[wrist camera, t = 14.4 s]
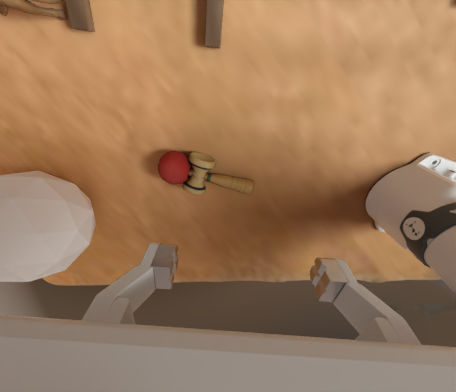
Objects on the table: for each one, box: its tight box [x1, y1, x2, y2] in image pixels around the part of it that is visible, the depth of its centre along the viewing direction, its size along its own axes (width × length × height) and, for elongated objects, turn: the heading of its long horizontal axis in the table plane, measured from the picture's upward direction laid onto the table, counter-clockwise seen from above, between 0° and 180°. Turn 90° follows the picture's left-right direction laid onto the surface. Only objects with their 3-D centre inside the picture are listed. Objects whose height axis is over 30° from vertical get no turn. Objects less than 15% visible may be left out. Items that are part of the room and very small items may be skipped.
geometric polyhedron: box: [0, 170, 96, 282], centre depth 38 cm, size 19×20×20 cm
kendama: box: [158, 151, 254, 195], centre depth 40 cm, size 8×6×18 cm
